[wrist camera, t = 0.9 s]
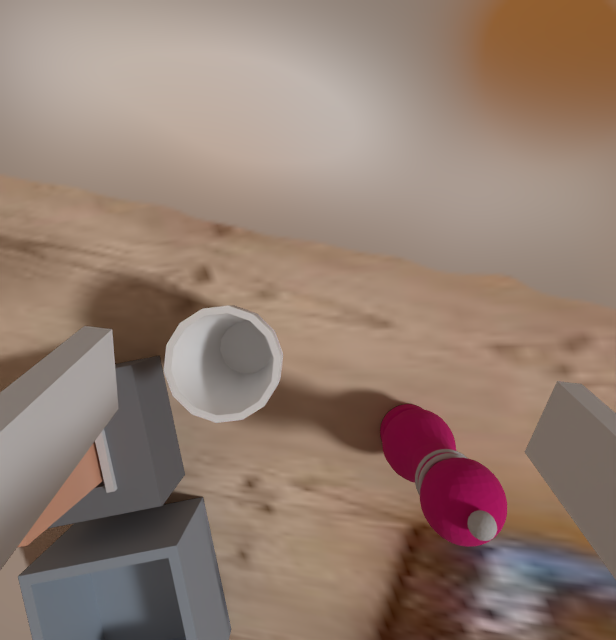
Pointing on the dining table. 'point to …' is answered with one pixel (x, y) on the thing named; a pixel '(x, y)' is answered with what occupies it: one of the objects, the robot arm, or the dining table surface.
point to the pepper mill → (443, 477)
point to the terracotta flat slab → (69, 493)
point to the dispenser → (134, 448)
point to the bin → (129, 579)
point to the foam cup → (223, 363)
